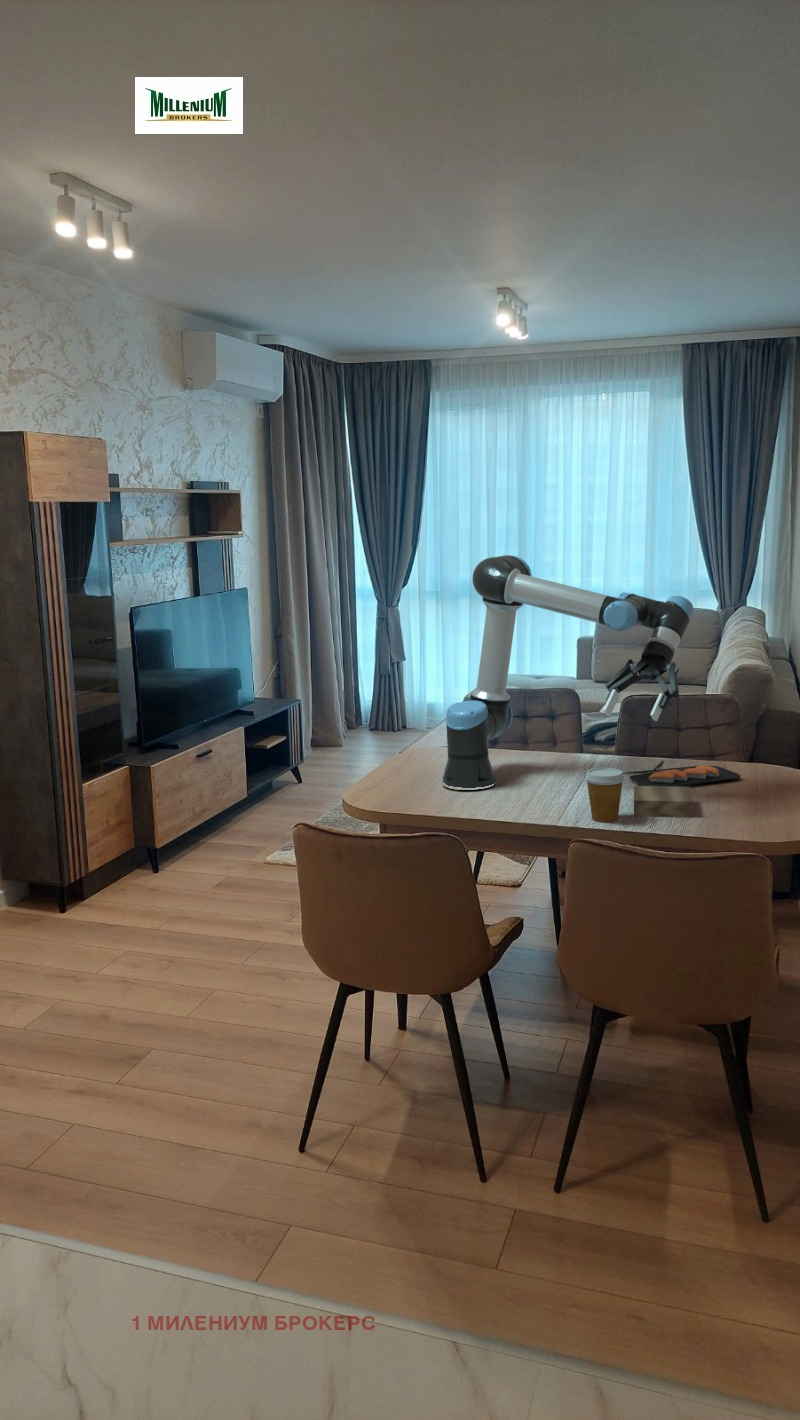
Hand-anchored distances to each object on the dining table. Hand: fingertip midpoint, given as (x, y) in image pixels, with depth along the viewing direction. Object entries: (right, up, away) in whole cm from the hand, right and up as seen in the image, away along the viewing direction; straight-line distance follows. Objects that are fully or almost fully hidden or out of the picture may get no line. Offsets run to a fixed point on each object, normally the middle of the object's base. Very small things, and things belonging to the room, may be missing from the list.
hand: (629, 715), depth 249 cm
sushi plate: (+20, -18, +36) cm, 45 cm away
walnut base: (+9, -24, +4) cm, 26 cm away
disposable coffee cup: (-7, -26, -3) cm, 27 cm away
